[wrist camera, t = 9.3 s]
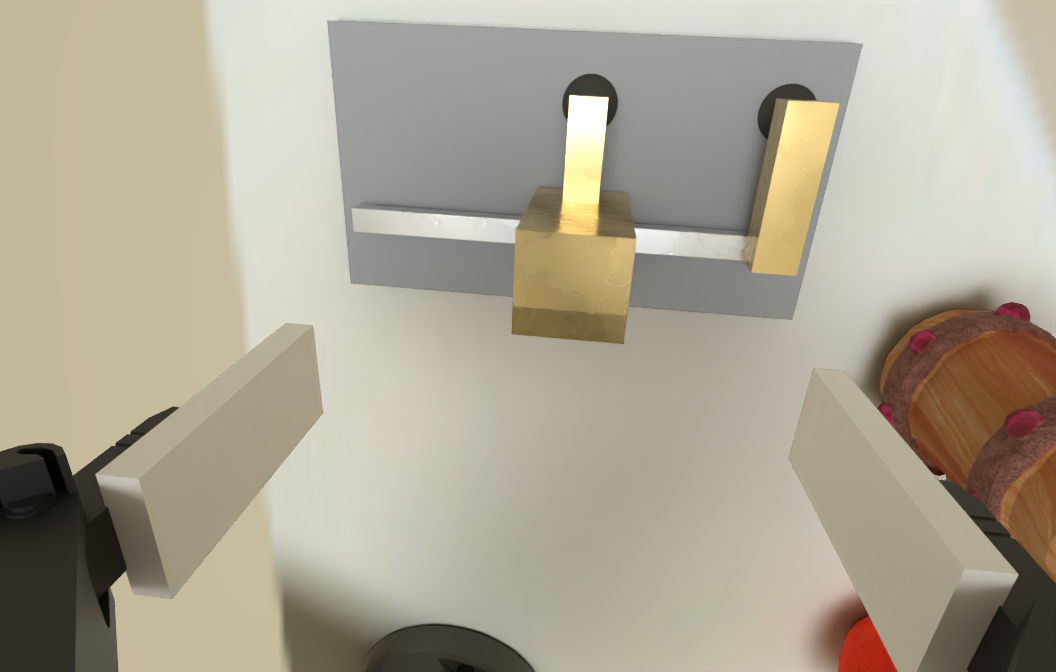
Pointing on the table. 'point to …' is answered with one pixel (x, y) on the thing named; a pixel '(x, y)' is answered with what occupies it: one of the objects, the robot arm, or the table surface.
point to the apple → (864, 650)
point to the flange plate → (541, 135)
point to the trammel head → (576, 244)
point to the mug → (983, 414)
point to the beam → (763, 248)
